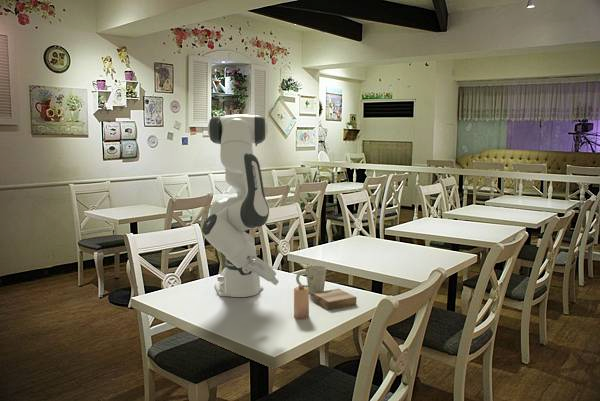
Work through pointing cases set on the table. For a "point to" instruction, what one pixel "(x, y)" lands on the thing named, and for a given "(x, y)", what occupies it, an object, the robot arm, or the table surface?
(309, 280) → the mug
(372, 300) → the table surface
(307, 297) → the canister
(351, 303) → the pedestal
